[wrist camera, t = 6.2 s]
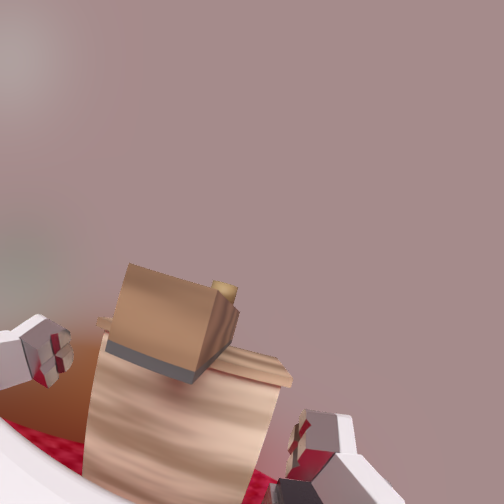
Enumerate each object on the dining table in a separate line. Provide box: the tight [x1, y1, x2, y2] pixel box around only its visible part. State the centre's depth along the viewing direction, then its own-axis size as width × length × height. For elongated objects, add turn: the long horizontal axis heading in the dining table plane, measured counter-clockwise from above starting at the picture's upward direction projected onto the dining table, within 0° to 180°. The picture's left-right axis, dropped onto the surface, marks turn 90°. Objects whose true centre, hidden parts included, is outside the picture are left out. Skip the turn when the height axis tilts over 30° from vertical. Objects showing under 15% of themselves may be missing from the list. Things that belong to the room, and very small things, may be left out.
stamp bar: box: [105, 263, 240, 385], centre depth 21 cm, size 22×4×6 cm, turn 0°
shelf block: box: [82, 317, 293, 504], centre depth 19 cm, size 11×13×26 cm
